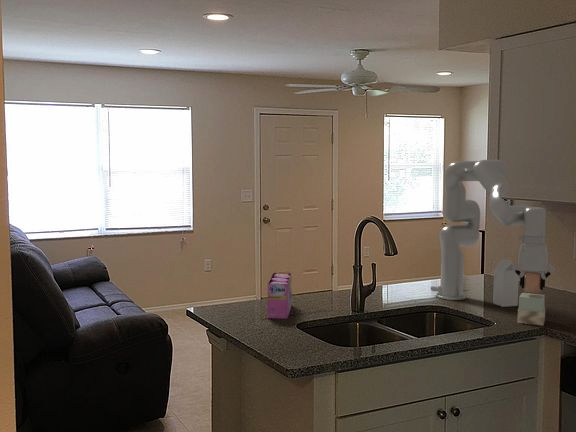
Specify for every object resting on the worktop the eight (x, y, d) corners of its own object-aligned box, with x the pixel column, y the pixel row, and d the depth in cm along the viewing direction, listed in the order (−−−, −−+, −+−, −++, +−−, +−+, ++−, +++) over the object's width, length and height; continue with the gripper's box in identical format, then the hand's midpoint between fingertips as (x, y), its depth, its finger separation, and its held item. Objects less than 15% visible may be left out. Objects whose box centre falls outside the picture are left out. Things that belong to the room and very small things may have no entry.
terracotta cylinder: (522, 291, 244) (523, 273, 243) (524, 288, 249) (525, 270, 249) (540, 293, 242) (540, 274, 241) (541, 290, 247) (541, 271, 246)
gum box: (273, 304, 274) (273, 272, 272) (292, 304, 273) (292, 272, 272) (267, 318, 250) (267, 283, 249) (287, 319, 249) (287, 283, 248)
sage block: (518, 309, 244) (519, 296, 244) (521, 305, 251) (522, 292, 251) (541, 312, 241) (542, 298, 240) (544, 307, 248) (544, 294, 247)
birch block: (517, 323, 244) (517, 310, 244) (519, 318, 252) (520, 305, 252) (543, 326, 241) (543, 312, 240) (544, 320, 249) (545, 307, 248)
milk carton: (502, 307, 269) (504, 261, 267) (492, 303, 276) (494, 258, 274) (517, 306, 271) (519, 260, 269) (507, 302, 278) (509, 258, 276)
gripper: (508, 240, 244) (506, 288, 246) (558, 243, 237) (556, 292, 238) (510, 238, 251) (509, 284, 252) (559, 240, 244) (557, 288, 245)
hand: (532, 288), depth 245 cm, fingers closed on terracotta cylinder, 6 cm apart
